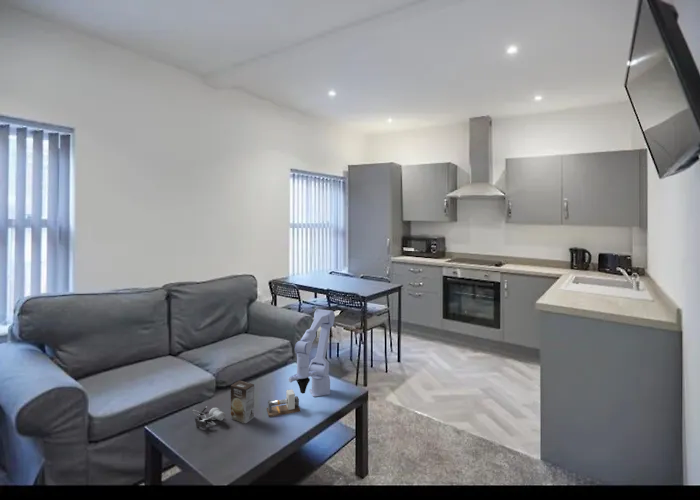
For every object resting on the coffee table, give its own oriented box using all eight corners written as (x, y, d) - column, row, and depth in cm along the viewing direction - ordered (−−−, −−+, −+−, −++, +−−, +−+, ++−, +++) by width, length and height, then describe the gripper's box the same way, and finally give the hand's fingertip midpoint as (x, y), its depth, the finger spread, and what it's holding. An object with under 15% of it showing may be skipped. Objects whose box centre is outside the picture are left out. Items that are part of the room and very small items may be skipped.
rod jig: (297, 404, 186) (297, 393, 186) (300, 411, 180) (300, 400, 179) (266, 409, 181) (266, 398, 181) (268, 417, 174) (268, 405, 174)
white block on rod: (292, 403, 184) (292, 389, 184) (294, 408, 180) (294, 393, 179) (286, 404, 183) (286, 390, 183) (288, 409, 179) (288, 394, 178)
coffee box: (229, 419, 172) (229, 385, 171) (239, 412, 178) (239, 379, 177) (245, 424, 168) (245, 389, 167) (255, 417, 174) (254, 383, 173)
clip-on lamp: (187, 424, 173) (203, 432, 160) (185, 411, 173) (200, 417, 160) (212, 413, 181) (229, 419, 168) (209, 400, 181) (226, 405, 168)
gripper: (311, 359, 190) (311, 385, 191) (285, 366, 181) (285, 393, 182) (319, 364, 184) (318, 391, 185) (292, 371, 175) (292, 399, 176)
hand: (302, 392), depth 183 cm, fingers closed
